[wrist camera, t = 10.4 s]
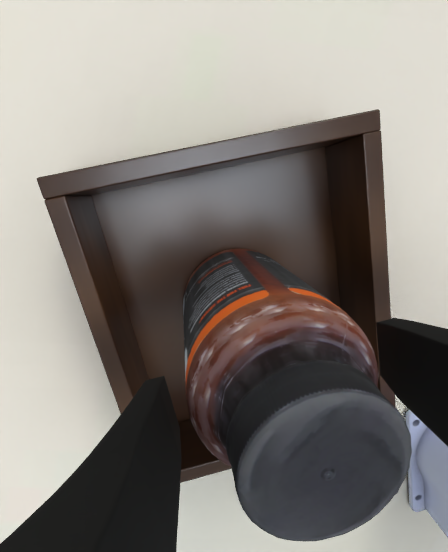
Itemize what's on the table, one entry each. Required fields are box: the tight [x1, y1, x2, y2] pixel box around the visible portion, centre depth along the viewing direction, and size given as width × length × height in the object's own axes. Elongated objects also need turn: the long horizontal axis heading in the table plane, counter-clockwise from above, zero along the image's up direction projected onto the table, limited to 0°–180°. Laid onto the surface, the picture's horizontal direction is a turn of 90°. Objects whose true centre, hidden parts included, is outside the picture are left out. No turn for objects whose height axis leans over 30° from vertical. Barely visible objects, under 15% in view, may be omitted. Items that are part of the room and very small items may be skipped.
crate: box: [37, 109, 395, 483], centre depth 16 cm, size 16×14×4 cm
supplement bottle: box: [183, 249, 412, 541], centre depth 12 cm, size 6×6×11 cm
